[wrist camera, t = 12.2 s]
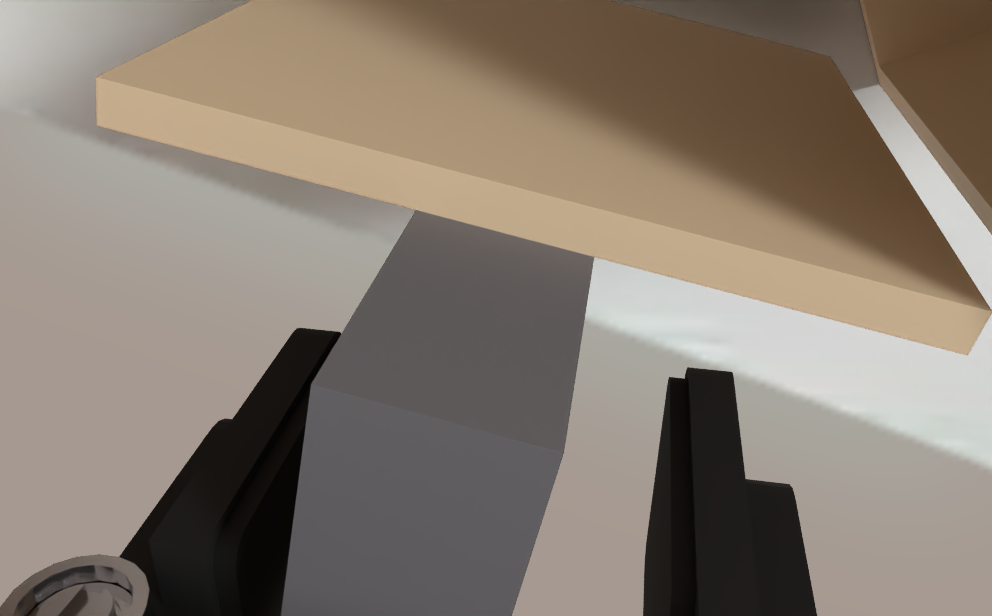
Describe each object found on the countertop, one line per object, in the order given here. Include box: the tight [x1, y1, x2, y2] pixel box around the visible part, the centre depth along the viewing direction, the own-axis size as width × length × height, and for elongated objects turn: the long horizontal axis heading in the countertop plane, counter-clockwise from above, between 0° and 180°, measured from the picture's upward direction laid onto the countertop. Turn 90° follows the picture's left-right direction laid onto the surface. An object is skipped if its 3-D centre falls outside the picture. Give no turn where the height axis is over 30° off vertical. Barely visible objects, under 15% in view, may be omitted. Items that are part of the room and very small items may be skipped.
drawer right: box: [96, 0, 992, 616], centre depth 13 cm, size 9×4×13 cm, turn 78°
